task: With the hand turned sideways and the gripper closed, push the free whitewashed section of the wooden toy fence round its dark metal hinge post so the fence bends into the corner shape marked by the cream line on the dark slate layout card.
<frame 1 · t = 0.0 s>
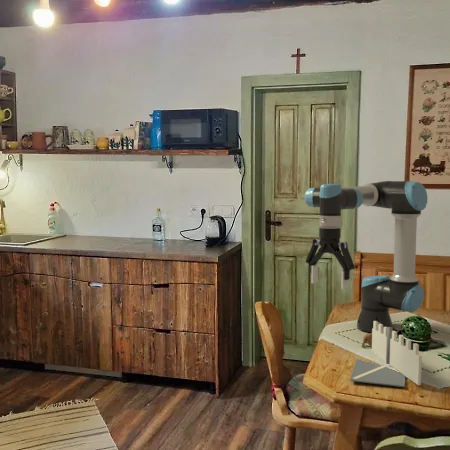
hand: (329, 285, 203), 31 cm above the table, tool pointing down, fingers open, 13 cm apart
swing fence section: (405, 356, 198), point 7 cm above the table, hinge at 0.0°
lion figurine: (372, 347, 230), on the table, touching layout card
layout card: (389, 365, 210), on the table
fixed fence section: (381, 341, 215), on the layout card
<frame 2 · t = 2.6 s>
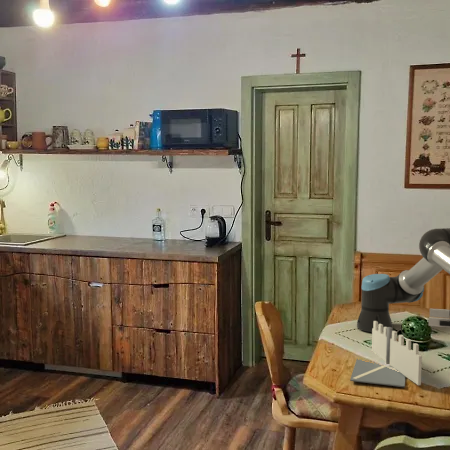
hand: (429, 316, 192), 23 cm above the table, tool horizontal, fingers open, 13 cm apart
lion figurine: (379, 341, 229), point 3 cm above the table, touching layout card
everything else where it was.
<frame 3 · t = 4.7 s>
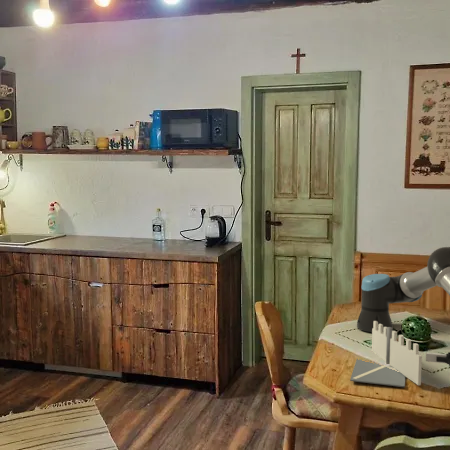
hand: (425, 356, 193), 9 cm above the table, tool horizontal, fingers closed
nothing on the table moved.
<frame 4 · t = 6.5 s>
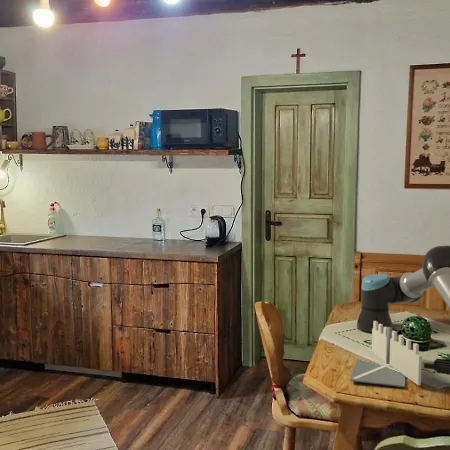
hand: (413, 363, 194), 6 cm above the table, tool horizontal, fingers closed
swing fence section: (404, 356, 198), point 7 cm above the table, hinge at 0.1°, touching gripper
everything else where it was.
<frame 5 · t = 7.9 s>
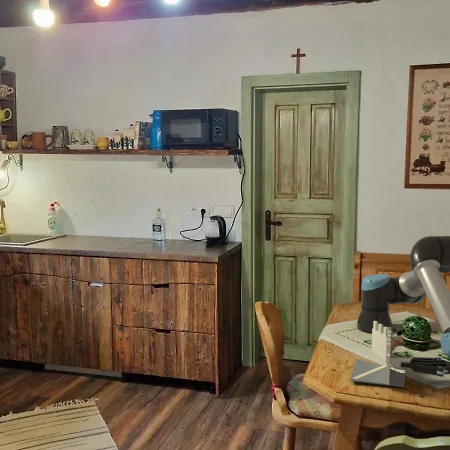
hand: (390, 362, 195), 6 cm above the table, tool horizontal, fingers closed, pressing on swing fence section
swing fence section: (388, 356, 198), point 7 cm above the table, hinge at 28.7°, touching gripper
everything else where it was.
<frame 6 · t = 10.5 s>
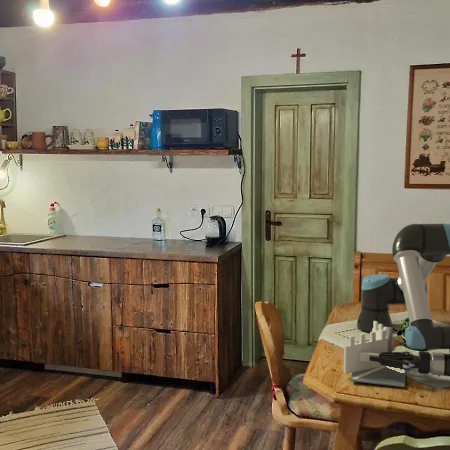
hand: (360, 356, 201), 6 cm above the table, tool horizontal, fingers closed
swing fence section: (366, 351, 203), point 7 cm above the table, hinge at 72.6°, touching gripper
everything else where it was.
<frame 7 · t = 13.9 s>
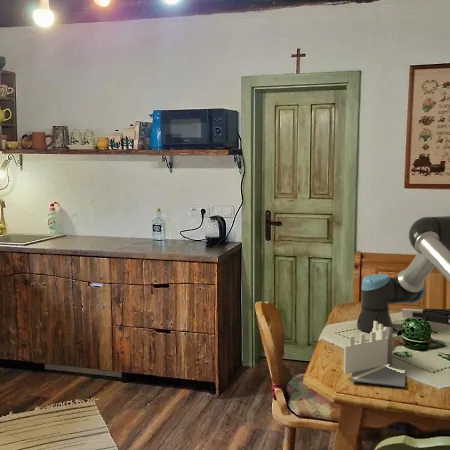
hand: (402, 312, 194), 23 cm above the table, tool horizontal, fingers closed
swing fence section: (366, 351, 204), point 7 cm above the table, hinge at 72.7°
everything else where it was.
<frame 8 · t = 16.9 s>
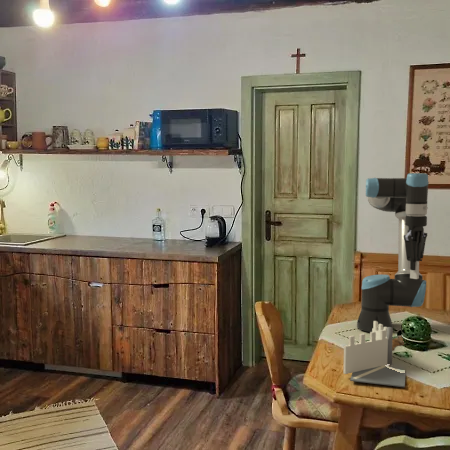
hand: (414, 278, 209), 32 cm above the table, tool pointing down, fingers closed
nothing on the table moved.
at the end: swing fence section at +73° (first picture: +0°) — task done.
